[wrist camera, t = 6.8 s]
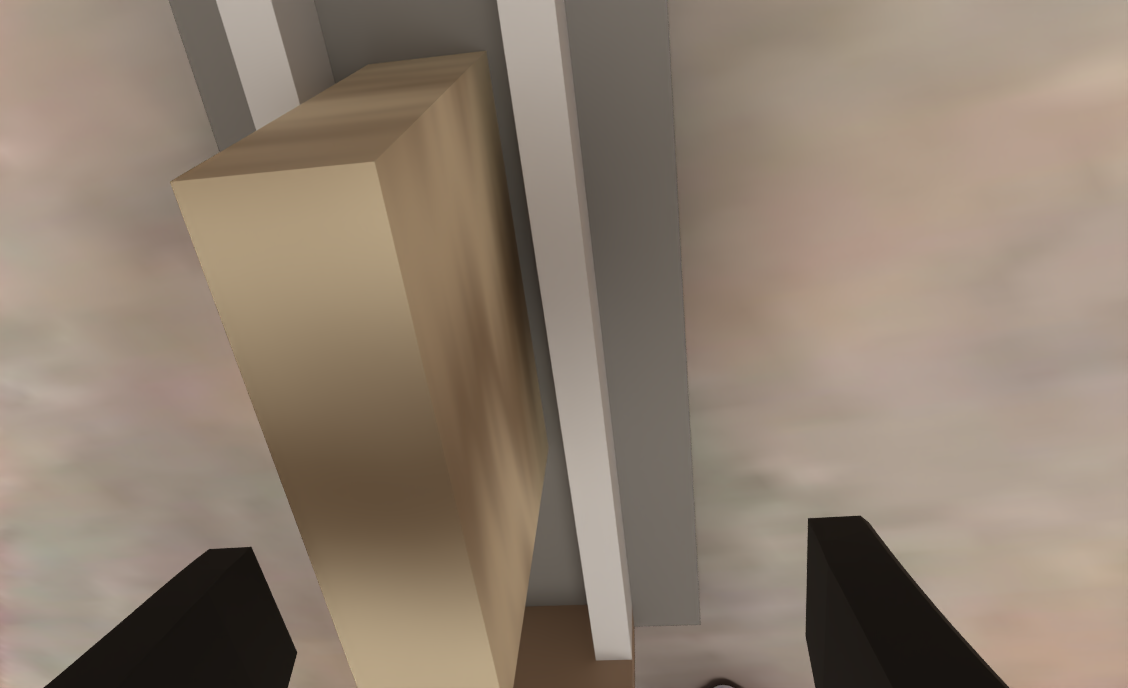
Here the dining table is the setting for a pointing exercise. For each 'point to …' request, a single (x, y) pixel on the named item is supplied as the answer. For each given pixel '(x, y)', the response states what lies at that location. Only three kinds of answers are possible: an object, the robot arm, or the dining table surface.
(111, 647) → the robot arm
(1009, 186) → the dining table surface
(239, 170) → the door panel
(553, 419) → the track board
